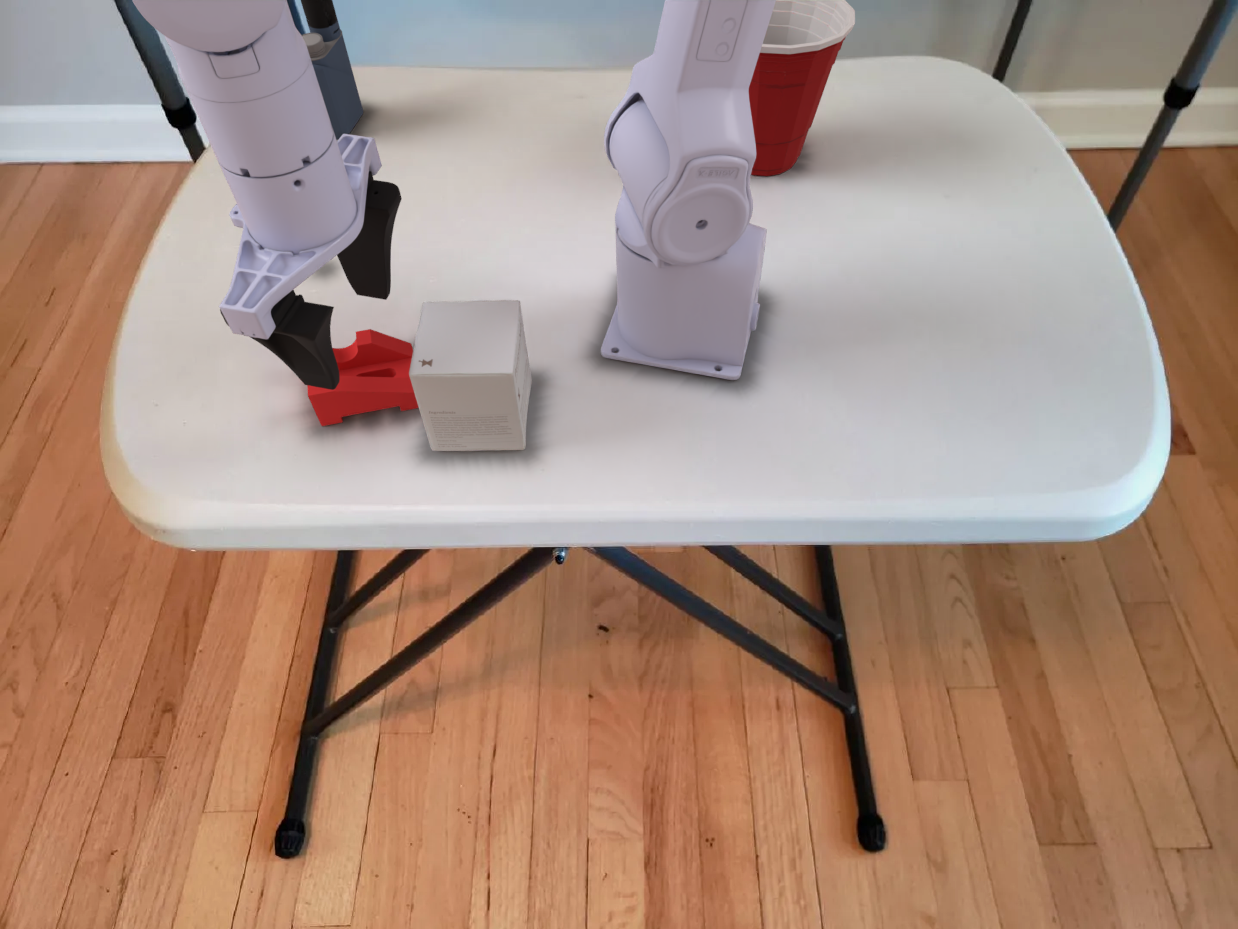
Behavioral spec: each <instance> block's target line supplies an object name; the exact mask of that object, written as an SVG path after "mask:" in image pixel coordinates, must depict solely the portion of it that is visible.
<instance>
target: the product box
mask: <svg viewBox="0 0 1238 929" xmlns="http://www.w3.org/2000/svg"><path fill="white" fill-rule="evenodd" d="M530 366H531V365H530V361H529V353H528V348H527V342H526V334H525V328H524V321H523V314H522V306H521V301H520V300H518V299H508V300H507V299H494V300H493V299H492V300H490V299H489V300H454V301H453V300H451V301H446V300H445V301H423V302H422V304H421V310H420V314H419V320H418V325H417V330H416V333H415V337H414V346H413V355H412V360H411V365H410V370H409V376H410V380H411V383H412V387H413V390H414V393H415V397H416V400H417V403H418V407H419V408H418V409H419V410H418V411H419V414H420V416H421V420H422V423H423V427H424V431H425V433H426V438H427V440H428V444H429V447H430V450H431V451H433V452H472V451H473V452H474V451H523V450H524V451H525V449H526V446H527V422H528V421H527V420H528V411H529V404H530V396H531V388H532V383H533V381H532V380H533V378H532V373H531V367H530Z"/></svg>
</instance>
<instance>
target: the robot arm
mask: <svg viewBox="0 0 1238 929" xmlns="http://www.w3.org/2000/svg"><path fill="white" fill-rule="evenodd" d="M131 1H132V3H133V4H134V6H135V8H136V9H137V11H138V12H139V13H140V14H141V16H142V17H143V19H145V21H147V23H148V24H150V26H152V27H153V28H154V29H155V30H156V31H158V32H159V33H160V34H161V35H163V36H164V39H165V41H166V43H167V45H168V47H169V48H170V50H171V53H172V54H173V56H174V59H175V62H176V64H177V72H178V75H179V77H180V81H181V82H182V84H183V86H184V88H185V90H186V93H187V95H188V97H189V100H190V102H191V104H192V106H193V108H194V111H195V113H196V115H197V118H198V120H199V122H200V124H201V127H202V129H203V131H204V133H205V136H206V138H207V140H208V142H209V145H210V147H211V149H212V151H213V154H214V156H215V158H216V160H217V163H218V165H219V167H220V169H221V171H222V174H223V176H224V178H225V181H226V183H227V185H228V187H229V189H230V192H231V194H232V196H233V199H234V201H235V203H236V204H235V205H234V206H233V207H232V209H230V211H229V214H228V216H229V218H230V221H231V222H232V225H233V226H234V227H236V228H239V229H242V232H241V235H240V236H241V237H240V241H239V246H238V249H237V250H238V251H237V255H236V260H235V264H234V269H233V273H232V278H231V281H230V285H229V287H228V290H227V292H226V294H225V296H224V297H223V299H222V301H221V302H220V304H219V305H218V307H219V311H220V314H221V316H222V318H223V320H224V322H225V324H226V326H228V327H229V329H230V331H231V332H232V334H235V335H239V336H240V335H241V336H243V337H248V338H251V339H252V340H254V341H255V342H257V343H259V344H260V345H262V346H263V347H264V348H266V349H267V350H269V351H270V352H271V353H273V354H274V355H275V356H276V357H277V358H278V359H280V360H281V362H283V363H284V364H285V365H286V366H287V367H288V368H289V369H290V370H291V371H292V372H293V373H294V375H295V376H296V377H298V379H299V380H300V381H301V382H302V384H304V385H305V386H307V385H309V386H314V387H320V388H325V389H330V390H334V389H335V388H336V387H337V385H338V383H339V381H340V375H339V368H338V365H337V361H336V358H335V355H334V352H333V348H334V347H333V345H332V344H333V343H332V335H331V333H332V332H331V326H332V324H331V323H332V316H333V312H334V308H335V306H331V305H325V304H319V303H315V302H309V301H305V298H304V297H303V294H297V293H296V292H295V289H296V288H298V287H299V286H300V285H301V284H303V283H304V282H305V281H306V280H308V279H309V278H310V277H312V275H314V274H316V272H318V271H319V270H320V269H321V268H323V267H324V266H325V265H326V264H328V263H329V262H330V261H331V260H333V259H334V258H335V257H337V259H338V261H339V263H340V265H341V268H342V270H343V273H344V275H345V277H346V279H347V281H348V283H349V285H350V287H351V289H352V290H353V291H354V292H355V294H356V296H361V297H367V298H373V299H380V300H385V301H387V300H388V298H389V296H390V294H391V289H392V288H391V286H392V267H391V266H392V262H391V261H392V240H393V233H394V226H395V222H396V217H397V214H398V210H399V208H400V205H401V203H402V195H401V190H400V188H399V186H398V185H397V184H396V183H393V182H390V181H384V180H377V179H374V176H376V175H377V174H378V172H380V169H381V168H382V166H383V165H382V164H383V163H382V161H381V158H380V153H379V150H378V147H377V142H376V138H374V137H371V136H362V135H357V134H351V133H350V134H343V135H342V136H341V137H340V138H339V140H336V137H335V134H334V131H333V128H332V125H331V122H330V119H329V115H328V112H327V109H326V106H325V103H324V100H323V96H322V93H321V90H320V87H319V84H318V81H317V77H316V74H315V71H314V68H313V65H312V62H311V58H310V55H309V52H308V49H307V46H306V43H305V41H304V39H303V37H302V36H301V35H302V34H301V33H300V31H299V30H298V29H297V27H296V25H295V22H294V18H293V15H292V12H291V9H290V7H289V3H288V0H131ZM775 2H776V0H664V3H663V8H662V13H661V17H660V21H659V26H658V31H657V34H656V40H655V44H654V49H653V52H652V54H650V55H648V56H647V57H645V58H643V59H641V60H639V61H638V62H636V63H635V64H634V65H633V67H632V70H631V75H630V79H629V83H628V87H627V89H626V92H625V94H624V96H623V98H622V99H621V100H620V102H619V103H618V104H617V106H616V107H615V108H614V110H613V111H612V112H611V114H610V116H609V118H608V119H607V123H606V125H605V128H604V134H603V146H604V151H605V152H604V153H605V154H606V158H607V159H608V161H609V163H610V164H611V166H612V168H613V169H614V170H615V171H616V172H617V175H618V176H619V179H620V181H621V184H622V190H621V194H620V197H619V201H618V203H617V206H616V210H615V215H614V224H615V225H614V226H615V227H614V228H615V231H614V232H615V261H616V264H615V265H616V296H617V297H616V298H617V303H616V305H615V308H614V311H613V313H612V317H611V319H610V322H609V325H608V328H607V330H606V333H605V336H604V339H603V341H602V344H601V347H600V355H601V356H602V357H603V358H605V359H611V360H616V361H621V362H628V363H632V364H633V363H634V364H639V365H644V366H651V367H656V368H662V369H667V370H673V371H679V372H684V373H689V374H695V375H701V376H707V377H711V378H718V379H723V380H730V381H736V380H739V379H740V378H741V375H742V371H743V367H744V362H745V358H746V354H747V350H748V346H749V341H750V337H751V333H752V332H753V331H754V332H755V331H756V329H757V326H758V320H759V315H760V309H761V304H760V303H759V292H760V286H761V278H762V270H763V263H764V256H765V249H766V242H767V228H765V227H762V226H759V225H755V224H752V223H751V220H752V217H753V216H752V215H753V210H754V199H753V196H752V191H751V176H752V174H751V172H752V168H753V165H754V162H755V159H756V144H755V136H754V129H753V122H752V116H751V109H750V102H749V86H750V83H751V79H752V76H753V73H754V70H755V66H756V63H757V60H758V57H759V54H760V50H761V47H762V44H763V41H764V37H765V34H766V31H767V28H768V25H769V21H770V18H771V15H772V12H773V8H774V5H775Z"/></svg>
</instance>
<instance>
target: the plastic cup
mask: <svg viewBox="0 0 1238 929" xmlns="http://www.w3.org/2000/svg"><path fill="white" fill-rule="evenodd" d="M855 24H856V10H855V9H854V8H853V6H851V5H850V3H848V2H847V1H846V0H776V2H775V5H774V8H773V12H772V15H771V18H770V21H769V25H768V28H767V31H766V34H765V37H764V41H763V44H762V47H761V50H760V54H759V57H758V60H757V63H756V66H755V70H754V73H753V76H752V79H751V83H750V86H749V102H750V109H751V116H752V122H753V129H754V136H755V144H756V159H755V162H754V165H753V168H752V172H751V176H759V177H760V176H761V177H770V176H777V175H781V174H783V173H785V172H787V171H789V170H791V169H792V168H793V166H794V165H795V164H796V163H797V161H798V158H799V157H800V156H801V153H802V151H803V147H804V144H805V142H806V140H807V136H808V132H809V130H810V129H811V127H812V126H813V124H814V123H813V122H814V119H815V117H816V114H817V111H818V108H819V105H820V102H821V99H822V97H823V94H824V91H825V89H826V86H827V83H828V79H829V77H830V74H831V71H832V68H833V67H834V65H835V63H836V60H837V57H838V54H839V52H840V50H842V46H843V43H844V41H845V40H846V37H847V36H848V35H849V34H850V33H851V32H852V30H853V29H854V26H855Z"/></svg>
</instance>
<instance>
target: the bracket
mask: <svg viewBox="0 0 1238 929" xmlns="http://www.w3.org/2000/svg"><path fill="white" fill-rule="evenodd" d="M332 348H333V352H334V355H335V358H336V361H337V365H338V368H339V375H340V381H339V383H338V385H337V387H336V388H335V389H334V390H330V389H325V388H320V387H314V386H309V385H306V386H307V397H308V400H309V402H310V405H311V406H312V408H313V410H314V413H315V416H316V417H317V420H318V422H319V424H320V426H321V427H327V426H330V425H337V424H341V423H343V422H344V421H343V417H348V416H353V415H360V414H364V413H368V412H369V413H371V412H374V411H375V412H376V411H380V410H385V409H391V408H396V407H399V409H400V412H405V411H410V410H415V409H419V407H418V403H417V400H416V397H415V393H414V390H413V387H412V383H411V380H410V376H409V370H410V365H411V360H412V355H413V350H414V347H413V345H412V343H411V342H408V341H405V340H402V339H399V338H397V337H394V336H391V335H388V334H386V333H383V332H379V331H378V330H377V331H376V330H374V329H371V328H367V329H363V330H357V331H355V339H354V341H353V343H351V344H350V345H347V346H346V347H339V348H336V347H332Z"/></svg>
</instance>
